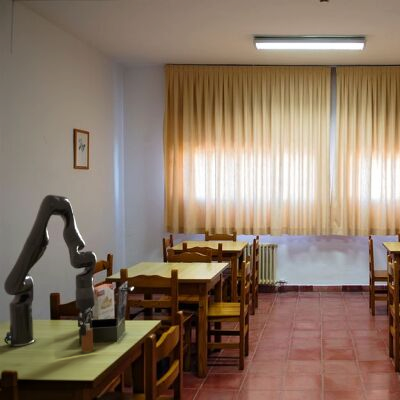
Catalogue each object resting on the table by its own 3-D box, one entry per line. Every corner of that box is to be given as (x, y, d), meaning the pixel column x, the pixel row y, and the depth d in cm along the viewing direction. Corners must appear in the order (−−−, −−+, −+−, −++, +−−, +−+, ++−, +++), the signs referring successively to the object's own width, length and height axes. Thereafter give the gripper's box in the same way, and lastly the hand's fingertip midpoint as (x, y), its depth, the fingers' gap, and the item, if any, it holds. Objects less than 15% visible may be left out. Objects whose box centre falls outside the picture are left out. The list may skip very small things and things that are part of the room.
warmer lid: (117, 288, 232) (129, 288, 233) (125, 281, 248) (136, 281, 249) (116, 325, 233) (127, 326, 234) (123, 316, 249) (134, 316, 249)
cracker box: (99, 330, 255) (97, 289, 254) (88, 329, 256) (87, 289, 255) (115, 322, 269) (114, 283, 268) (105, 321, 270) (104, 283, 269)
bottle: (82, 354, 220) (81, 326, 219) (81, 351, 224) (80, 323, 223) (93, 352, 222) (92, 324, 222) (92, 349, 226) (91, 322, 226)
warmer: (79, 346, 231) (78, 329, 230) (89, 335, 246) (89, 319, 246) (117, 343, 233) (116, 326, 233) (125, 333, 249) (124, 317, 249)
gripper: (81, 293, 228) (82, 328, 229) (70, 300, 214) (72, 338, 215) (98, 292, 229) (99, 327, 230) (89, 299, 215) (90, 336, 216)
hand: (86, 332), depth 222 cm, fingers open, 8 cm apart
